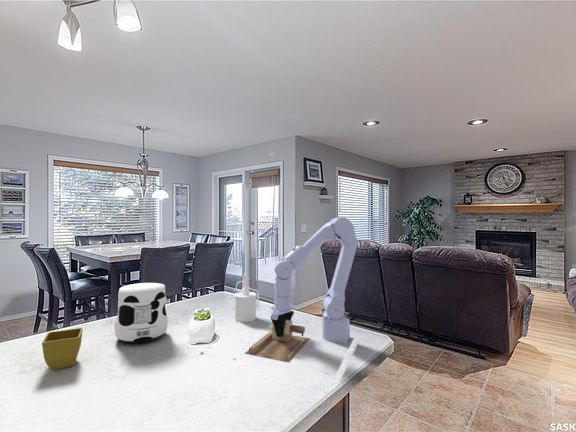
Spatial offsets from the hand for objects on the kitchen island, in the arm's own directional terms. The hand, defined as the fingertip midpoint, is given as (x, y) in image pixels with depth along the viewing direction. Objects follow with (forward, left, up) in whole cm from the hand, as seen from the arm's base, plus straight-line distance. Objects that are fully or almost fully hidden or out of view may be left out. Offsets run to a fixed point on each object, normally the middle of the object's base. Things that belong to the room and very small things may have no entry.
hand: (282, 334), depth 111 cm
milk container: (+48, +16, -3) cm, 51 cm away
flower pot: (+52, +41, -3) cm, 66 cm away
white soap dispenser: (+22, -14, -3) cm, 26 cm away
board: (-1, +6, -3) cm, 7 cm away
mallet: (-2, 0, -1) cm, 3 cm away
